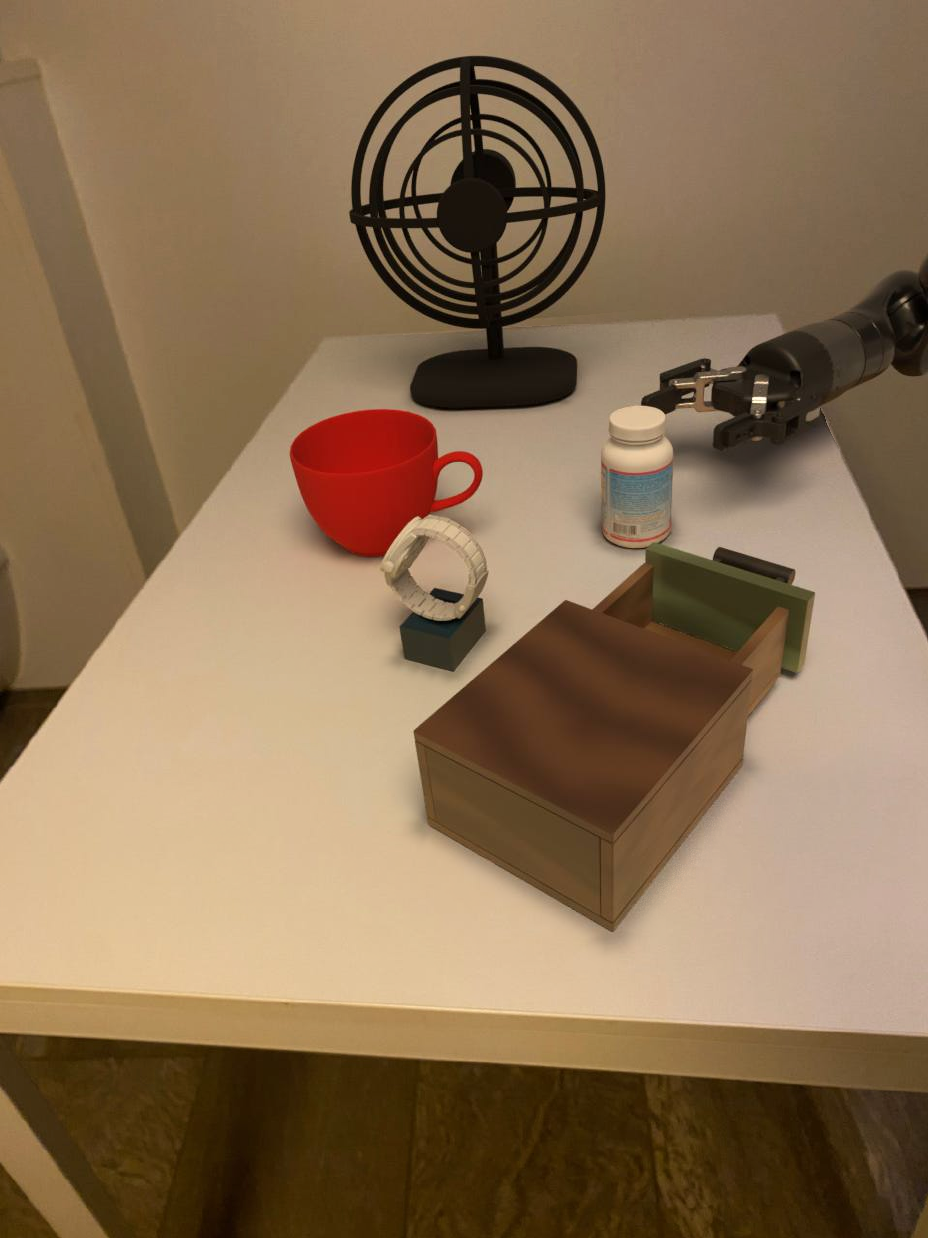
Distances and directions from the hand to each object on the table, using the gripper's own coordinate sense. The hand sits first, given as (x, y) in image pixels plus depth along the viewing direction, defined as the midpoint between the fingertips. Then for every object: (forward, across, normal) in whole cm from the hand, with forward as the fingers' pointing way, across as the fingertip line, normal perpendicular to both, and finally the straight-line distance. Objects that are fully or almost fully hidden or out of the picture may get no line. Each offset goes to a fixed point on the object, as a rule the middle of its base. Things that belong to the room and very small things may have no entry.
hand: (678, 424), depth 83 cm
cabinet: (+29, -21, -9) cm, 37 cm away
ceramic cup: (+21, +14, -9) cm, 27 cm away
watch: (+27, -2, -9) cm, 29 cm away
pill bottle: (+5, 0, -9) cm, 10 cm away
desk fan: (-6, +36, -9) cm, 38 cm away
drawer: (+16, -17, -8) cm, 25 cm away
